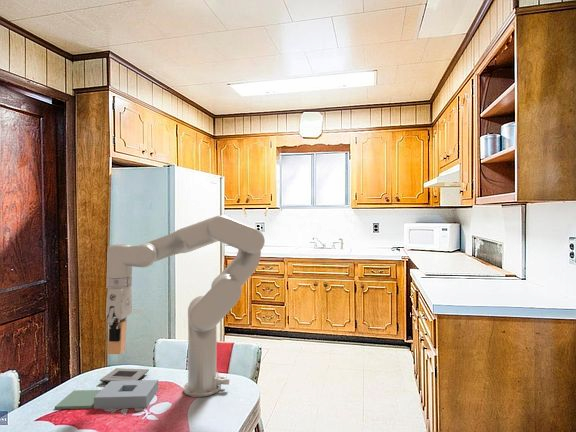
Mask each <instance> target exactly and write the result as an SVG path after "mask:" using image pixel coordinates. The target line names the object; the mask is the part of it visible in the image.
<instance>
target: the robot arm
mask: <svg viewBox="0 0 576 432" xmlns="http://www.w3.org/2000/svg"><path fill="white" fill-rule="evenodd" d="M217 242H219V243H223V244H225V245H227V246H229V247H232V248H235V249H237V250H238V251H237V254H236V256H235V257H234V258H233V259H232V261H231V262H230V263H229V264H228V265H227V266H226V267H225V268H224V269H223V270H222V271H221V273H219V274H218V275H217V276H216V277H215V278H214V279H213V281H211V282H212V283H211V286H210V289H209V290H208V291H207V292H206V294H204V295H199V296H196V297H195V298H193V299H192V300H191V301H190V303H189V305H188V307H187V324H188V325H187V327H188V329H187V332H188V333H187V335H188V336H187V337H188V340H187V342H188V344H187V351H188V353H187V354H188V355H187V357H188V358H187V369H188V370H187V372H188V374H187V375H188V376H187V383H186V384H184V385H183V393H184V394H185V395H187V396H189V397H193V398H202V397H208V396H211V395H214V394H216V393H218V392H219V391H220V390H221V388H222V385H226V386H227V385H228V386H229V385H230V377H229V378H228V377H227V376H225V375H224V376H223V375H222V376H220V375H219V372H218V371H217V341H218V340H217V339H218V337H217V335H218V333H217V325H218V324H219V323H220V322H221V321H222V320H223V318H225V316H226V315H228V313H229V312H230V311H231V310H232V309H233V308H234V307H235V306H236V305H237V303H238V302H239V300H240V298H241V296H242V291H243V289H242V287H243V286H244V284H246V282H247V281H248V280H249V279H250V277H251V276H252V275H253V274H254V273H255V271H256V270H257V268H258V266H259V263H260V260H261V255H262V249H264V246H265V243H266V242H265V236H264V234H263V233H262V232H261V231H260V230H258V229H257V228H254V227H252V226H250V225H247V224H245V223H242V222H239V221H237V220H234V219H233V218H230V217H228V216H226V215H215V216H213V217H210V218H207V219H204V220H202V221H198V222H196V223H192V224H191V225H188V226H185V227H182V228H179V229H177V230H175V231H174V232H172V233H169V234H167V235H164V236H160V237H158V238H156V239H152V240H150V241H147V242H143V243H142V244H138V245H131V244H130V245H129V244H119V243H118V244H112V245H111V244H110V245H108V247H107V251H106V252H107V253H106V257H107V258H106V260H107V261H106V285H105V287H106V289H107V295H106V304H105V305H106V306H105V317H106V319H107V321H106V324H107V325H108V335H109V341H115V342H118V341H120V328H119V324H120V320H127V318H128V317H129V316H130V315H131V314H132V312H133V304H132V303H133V299H132V283H133V280H132V279H133V278H132V277H133V268H135V267H136V268H145V269H146V268H148V267H150V266H152V265H154V263H156V262H159V261H160V260H163V259H166V258H169V257H172V256H175V255H178V254H185V253H186V254H187V253H190V252H193V251H195V250H198V249H201V248H203V247H207V246H209V245H212V244H214V243H217ZM114 318H117V319H114ZM114 321H117V323H116V322H114Z"/></svg>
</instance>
